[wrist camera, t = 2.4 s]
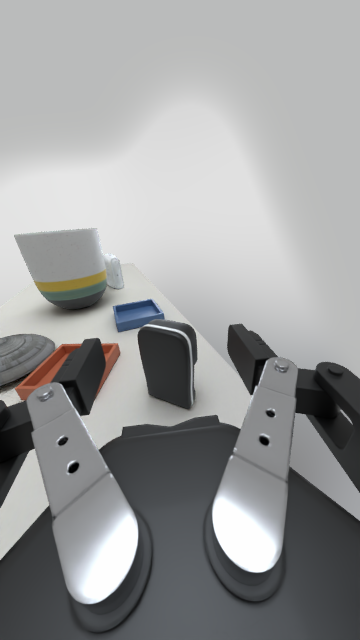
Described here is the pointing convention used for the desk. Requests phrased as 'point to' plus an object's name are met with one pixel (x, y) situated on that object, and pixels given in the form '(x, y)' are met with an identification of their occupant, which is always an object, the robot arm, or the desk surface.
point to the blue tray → (136, 314)
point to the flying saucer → (22, 355)
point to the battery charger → (169, 360)
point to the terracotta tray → (55, 361)
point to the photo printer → (113, 271)
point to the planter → (66, 265)
